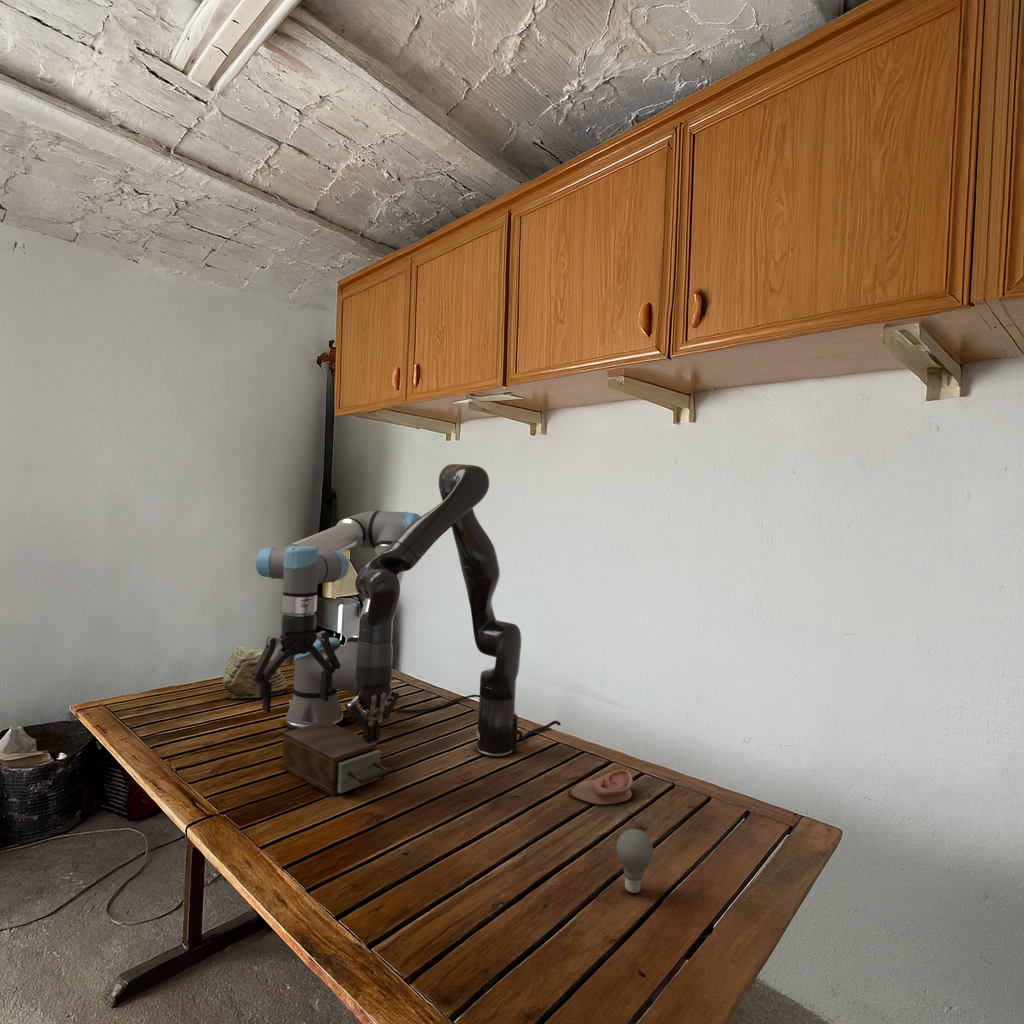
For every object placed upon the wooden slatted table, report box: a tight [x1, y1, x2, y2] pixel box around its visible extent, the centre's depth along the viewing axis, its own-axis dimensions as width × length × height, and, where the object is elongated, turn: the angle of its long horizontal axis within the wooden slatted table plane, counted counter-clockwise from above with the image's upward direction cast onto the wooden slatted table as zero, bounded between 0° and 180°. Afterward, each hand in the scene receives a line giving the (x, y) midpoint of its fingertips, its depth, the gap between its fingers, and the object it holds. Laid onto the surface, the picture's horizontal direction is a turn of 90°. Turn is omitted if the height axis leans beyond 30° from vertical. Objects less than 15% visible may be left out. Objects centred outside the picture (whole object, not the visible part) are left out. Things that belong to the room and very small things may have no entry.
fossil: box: [222, 646, 288, 699], centre depth 198 cm, size 9×18×15 cm, turn 132°
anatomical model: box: [570, 769, 634, 805], centre depth 141 cm, size 13×4×12 cm
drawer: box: [337, 749, 392, 794], centre depth 142 cm, size 24×10×6 cm, turn 50°
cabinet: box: [281, 721, 378, 797], centre depth 145 cm, size 20×12×8 cm, turn 50°
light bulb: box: [615, 828, 654, 894], centre depth 106 cm, size 6×6×10 cm
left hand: (296, 705), depth 146 cm, fingers open, 13 cm apart
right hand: (371, 741), depth 135 cm, fingers closed
